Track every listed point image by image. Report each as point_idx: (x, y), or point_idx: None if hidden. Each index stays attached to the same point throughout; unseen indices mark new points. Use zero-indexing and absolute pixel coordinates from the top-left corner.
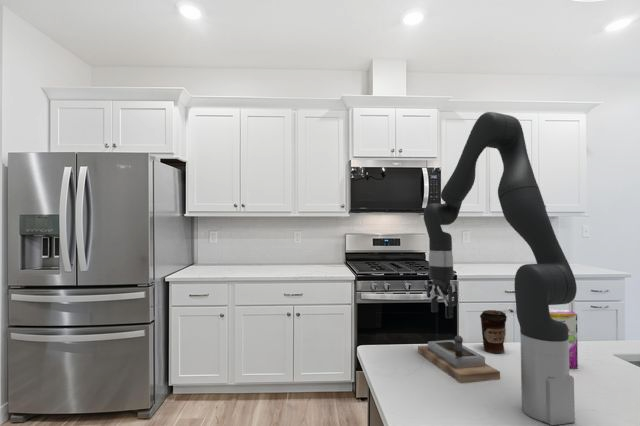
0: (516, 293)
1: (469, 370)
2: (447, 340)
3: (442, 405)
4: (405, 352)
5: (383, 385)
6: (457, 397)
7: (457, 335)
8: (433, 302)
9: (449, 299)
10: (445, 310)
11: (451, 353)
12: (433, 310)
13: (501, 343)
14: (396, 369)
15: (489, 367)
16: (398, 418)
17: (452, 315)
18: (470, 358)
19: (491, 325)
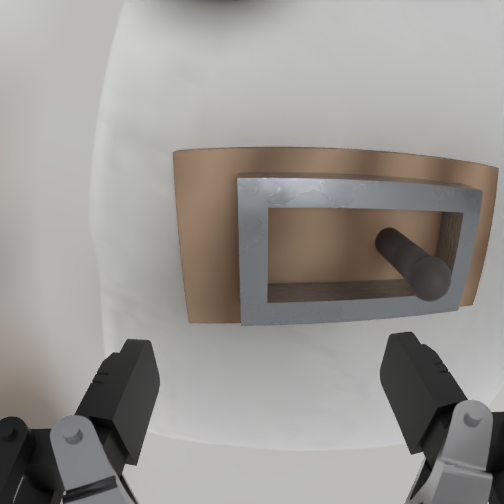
0: None
1: None
2: (242, 217)
3: (489, 368)
4: (188, 348)
5: (385, 439)
6: (491, 334)
7: (434, 290)
8: (135, 446)
9: (501, 489)
10: (398, 421)
11: (412, 300)
12: (153, 385)
13: None
14: (324, 411)
15: (471, 174)
16: None
17: (430, 354)
18: (471, 255)
19: None
